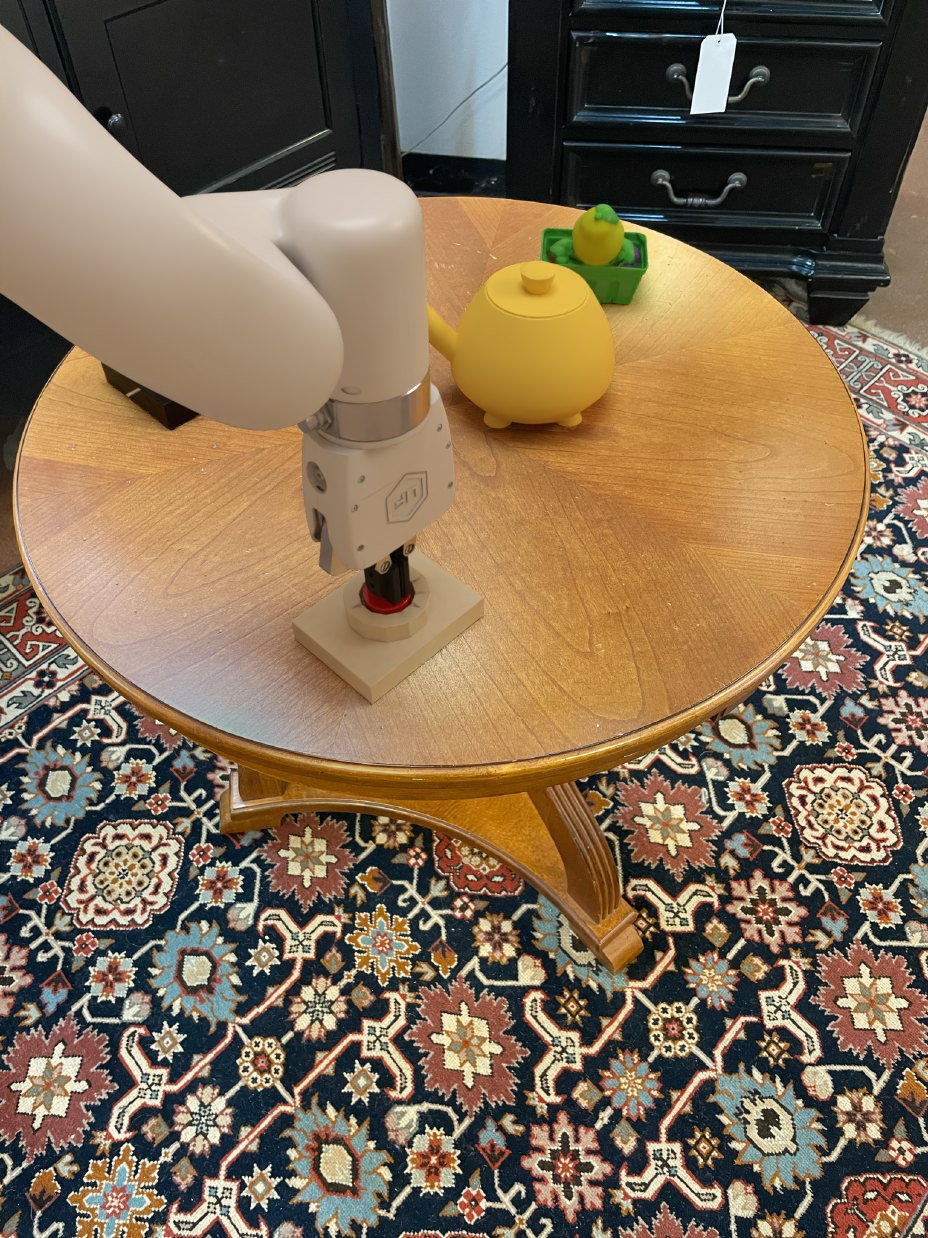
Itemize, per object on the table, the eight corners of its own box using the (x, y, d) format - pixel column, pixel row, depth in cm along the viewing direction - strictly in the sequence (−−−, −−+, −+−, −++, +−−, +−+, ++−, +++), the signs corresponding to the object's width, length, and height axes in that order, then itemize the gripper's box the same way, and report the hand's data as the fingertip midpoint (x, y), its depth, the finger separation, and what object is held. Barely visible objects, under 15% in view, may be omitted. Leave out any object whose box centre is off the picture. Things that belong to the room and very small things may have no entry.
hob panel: (163, 443, 89) (155, 416, 87) (93, 388, 95) (83, 361, 92) (293, 371, 96) (288, 344, 94) (220, 324, 102) (214, 297, 99)
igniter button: (387, 632, 72) (385, 617, 70) (355, 607, 73) (353, 591, 72) (421, 606, 73) (420, 590, 72) (389, 581, 75) (388, 566, 74)
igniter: (372, 704, 70) (368, 672, 67) (294, 638, 74) (287, 605, 71) (484, 615, 76) (484, 581, 73) (405, 557, 80) (403, 523, 77)
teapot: (405, 451, 89) (396, 320, 78) (406, 352, 99) (399, 224, 88) (619, 446, 89) (640, 316, 78) (599, 348, 99) (615, 221, 88)
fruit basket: (640, 274, 108) (655, 174, 99) (642, 318, 103) (659, 217, 94) (539, 269, 109) (545, 170, 100) (536, 313, 103) (542, 212, 94)
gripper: (314, 479, 53) (347, 676, 67) (497, 362, 60) (492, 563, 74) (231, 420, 56) (279, 619, 70) (414, 315, 63) (424, 516, 77)
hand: (388, 590), depth 72 cm, fingers closed
